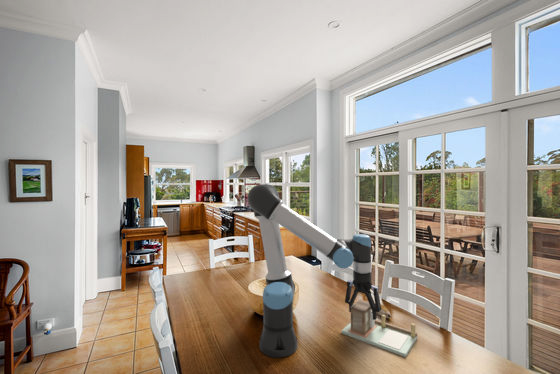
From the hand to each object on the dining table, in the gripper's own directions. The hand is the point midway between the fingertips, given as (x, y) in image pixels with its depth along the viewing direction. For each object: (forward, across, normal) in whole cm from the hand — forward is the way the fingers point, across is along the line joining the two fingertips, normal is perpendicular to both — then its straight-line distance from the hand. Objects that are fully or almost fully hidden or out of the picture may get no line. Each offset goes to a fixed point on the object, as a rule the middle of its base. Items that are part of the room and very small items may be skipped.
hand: (362, 323), depth 119 cm
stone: (+4, -1, -21) cm, 22 cm away
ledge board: (+4, -6, -1) cm, 8 cm away
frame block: (+2, 0, 0) cm, 2 cm away
